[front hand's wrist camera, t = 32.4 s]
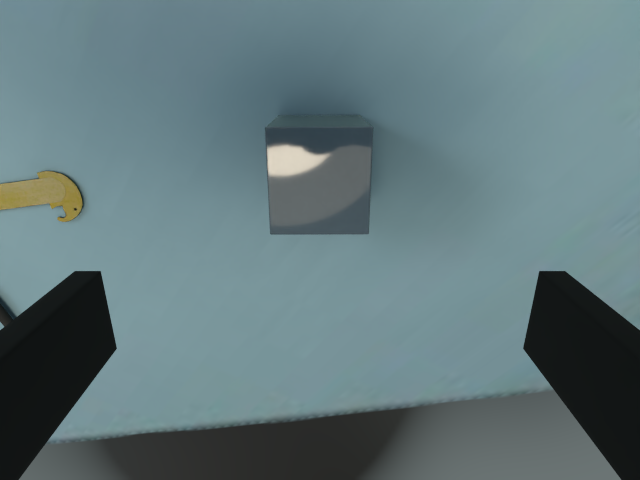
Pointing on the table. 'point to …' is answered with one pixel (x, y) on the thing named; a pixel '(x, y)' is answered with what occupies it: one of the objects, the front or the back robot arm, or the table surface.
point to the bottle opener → (43, 194)
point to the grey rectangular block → (319, 174)
